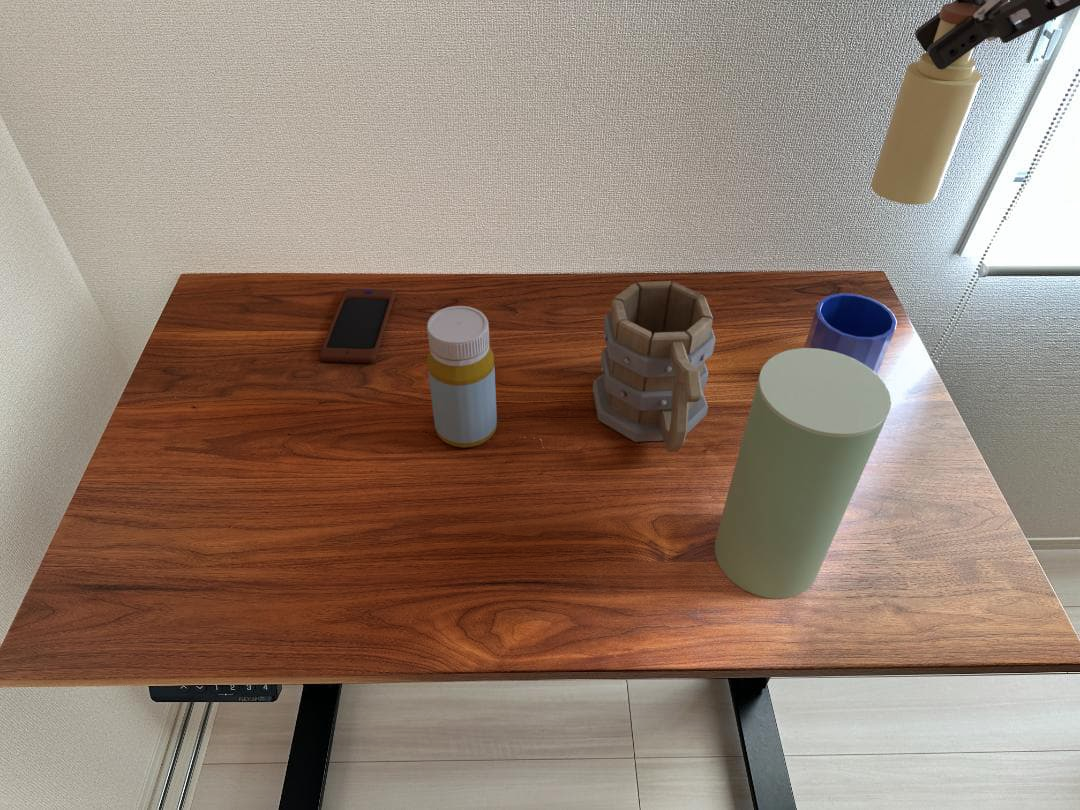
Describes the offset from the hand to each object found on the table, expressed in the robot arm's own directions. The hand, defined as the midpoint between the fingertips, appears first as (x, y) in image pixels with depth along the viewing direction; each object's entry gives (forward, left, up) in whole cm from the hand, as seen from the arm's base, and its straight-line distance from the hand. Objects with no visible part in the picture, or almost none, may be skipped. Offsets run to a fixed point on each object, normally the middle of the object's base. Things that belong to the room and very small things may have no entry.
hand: (927, 51), depth 65 cm
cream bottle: (-2, -1, -13) cm, 13 cm away
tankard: (+15, +14, -40) cm, 45 cm away
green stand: (-1, +26, -40) cm, 47 cm away
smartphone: (+56, +14, -40) cm, 70 cm away
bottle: (+34, +24, -40) cm, 57 cm away
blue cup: (-2, -6, -40) cm, 40 cm away
